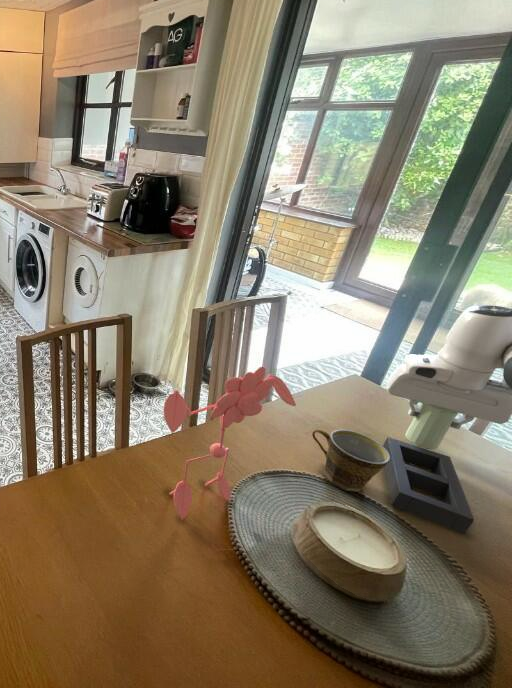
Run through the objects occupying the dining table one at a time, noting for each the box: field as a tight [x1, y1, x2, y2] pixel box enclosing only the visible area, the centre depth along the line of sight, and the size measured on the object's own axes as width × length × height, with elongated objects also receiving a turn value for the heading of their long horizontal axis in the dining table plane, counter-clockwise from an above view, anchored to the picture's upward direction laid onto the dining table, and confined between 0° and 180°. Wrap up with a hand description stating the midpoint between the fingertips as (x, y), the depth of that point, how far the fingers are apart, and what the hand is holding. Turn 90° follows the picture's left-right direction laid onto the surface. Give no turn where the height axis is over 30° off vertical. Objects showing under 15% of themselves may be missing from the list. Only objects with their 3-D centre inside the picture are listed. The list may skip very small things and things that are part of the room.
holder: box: [382, 436, 475, 534], centre depth 89 cm, size 11×20×4 cm, turn 145°
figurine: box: [144, 365, 297, 551], centre depth 75 cm, size 15×26×35 cm, turn 106°
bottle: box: [405, 403, 459, 450], centre depth 97 cm, size 6×6×15 cm
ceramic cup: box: [311, 429, 390, 493], centre depth 90 cm, size 13×10×10 cm
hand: (432, 420), depth 98 cm, fingers closed on bottle, 6 cm apart
